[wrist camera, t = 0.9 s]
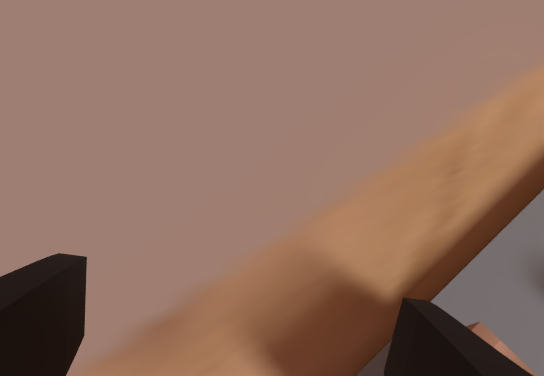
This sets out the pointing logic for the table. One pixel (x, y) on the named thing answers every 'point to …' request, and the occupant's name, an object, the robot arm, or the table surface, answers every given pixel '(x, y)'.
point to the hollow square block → (497, 344)
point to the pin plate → (500, 290)
